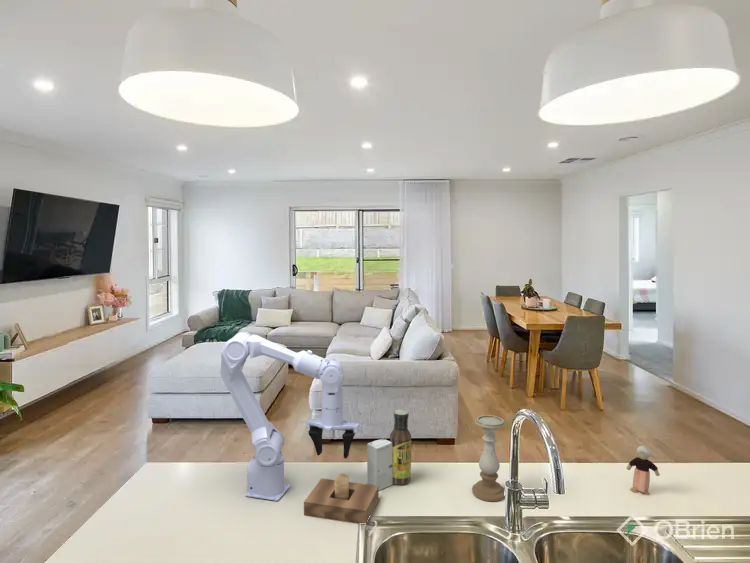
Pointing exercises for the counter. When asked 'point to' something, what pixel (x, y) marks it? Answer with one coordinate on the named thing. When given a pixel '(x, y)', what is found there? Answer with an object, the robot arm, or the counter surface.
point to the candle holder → (489, 461)
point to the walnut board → (341, 502)
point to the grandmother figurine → (642, 470)
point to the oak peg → (341, 486)
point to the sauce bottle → (401, 448)
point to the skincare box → (379, 463)
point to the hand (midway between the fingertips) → (332, 455)
